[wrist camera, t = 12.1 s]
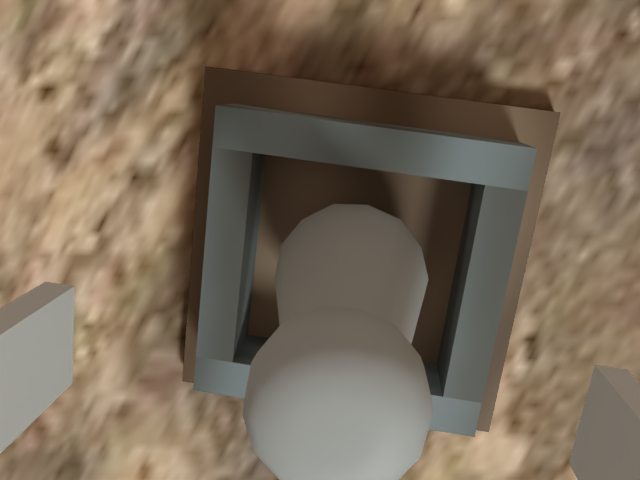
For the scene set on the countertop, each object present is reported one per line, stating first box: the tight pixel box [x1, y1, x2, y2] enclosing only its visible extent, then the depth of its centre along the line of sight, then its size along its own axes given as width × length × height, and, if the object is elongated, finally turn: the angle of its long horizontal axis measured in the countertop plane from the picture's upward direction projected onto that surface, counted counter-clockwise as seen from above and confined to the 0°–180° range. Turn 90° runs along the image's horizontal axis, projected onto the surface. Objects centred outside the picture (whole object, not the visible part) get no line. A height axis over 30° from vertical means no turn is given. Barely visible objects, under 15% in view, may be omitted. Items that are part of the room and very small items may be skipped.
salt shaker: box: [243, 204, 433, 480], centre depth 19 cm, size 6×6×13 cm
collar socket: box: [183, 66, 560, 437], centre depth 24 cm, size 14×14×4 cm
